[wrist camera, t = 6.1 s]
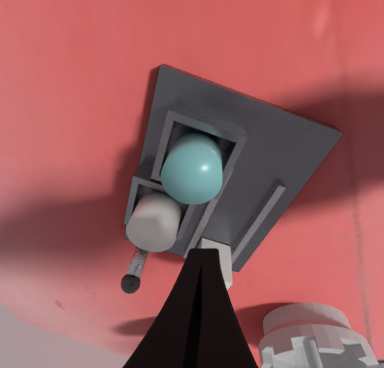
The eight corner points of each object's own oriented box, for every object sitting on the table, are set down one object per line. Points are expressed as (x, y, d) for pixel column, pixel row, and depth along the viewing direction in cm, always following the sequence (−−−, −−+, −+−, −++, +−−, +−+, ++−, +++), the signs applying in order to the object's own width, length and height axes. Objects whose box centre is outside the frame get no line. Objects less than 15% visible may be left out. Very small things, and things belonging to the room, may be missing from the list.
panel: (336, 128, 16) (359, 144, 13) (237, 264, 25) (239, 289, 23) (163, 63, 15) (152, 68, 12) (127, 231, 24) (116, 254, 21)
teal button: (230, 144, 14) (232, 164, 12) (210, 186, 16) (209, 211, 14) (177, 125, 14) (169, 142, 12) (164, 171, 16) (154, 194, 14)
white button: (186, 200, 17) (181, 225, 15) (174, 230, 19) (168, 257, 17) (142, 186, 17) (129, 209, 14) (134, 218, 19) (122, 243, 16)
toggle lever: (159, 234, 21) (140, 295, 17) (157, 240, 22) (139, 298, 19) (137, 227, 20) (113, 288, 17) (136, 233, 22) (114, 291, 18)
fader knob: (230, 246, 22) (232, 285, 18) (219, 263, 24) (219, 302, 20) (202, 237, 22) (199, 275, 18) (192, 256, 23) (188, 293, 20)
